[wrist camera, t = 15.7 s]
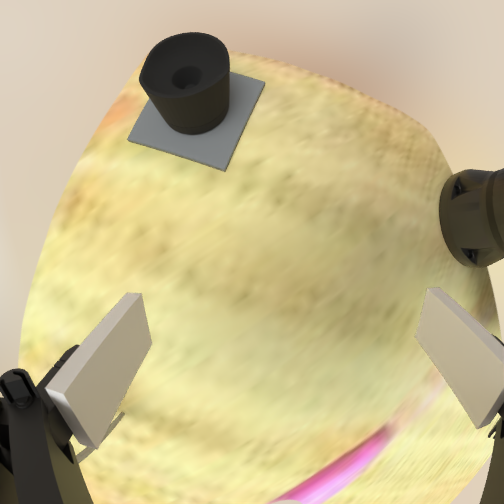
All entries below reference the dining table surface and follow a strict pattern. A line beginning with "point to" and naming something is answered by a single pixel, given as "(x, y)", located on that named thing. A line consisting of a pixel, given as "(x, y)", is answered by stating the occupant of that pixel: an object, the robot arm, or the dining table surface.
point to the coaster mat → (208, 143)
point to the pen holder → (188, 81)
